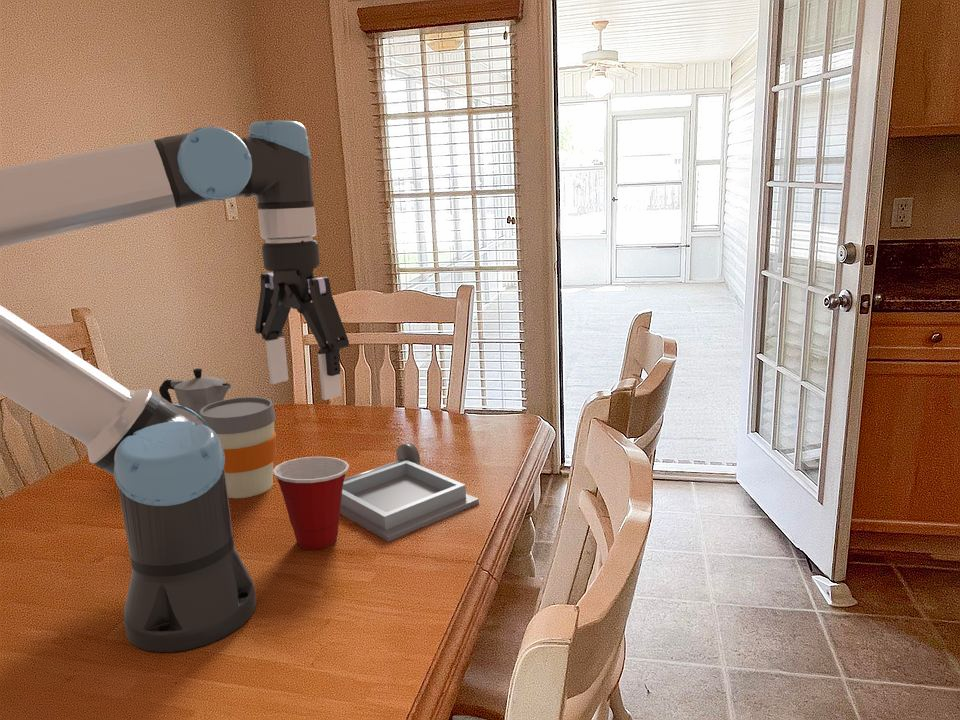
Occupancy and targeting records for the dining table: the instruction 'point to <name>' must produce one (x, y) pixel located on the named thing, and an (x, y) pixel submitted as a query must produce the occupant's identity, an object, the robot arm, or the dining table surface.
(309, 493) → the plastic cup
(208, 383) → the coffeepot
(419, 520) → the tray
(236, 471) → the reusable coffee cup
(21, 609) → the dining table surface
